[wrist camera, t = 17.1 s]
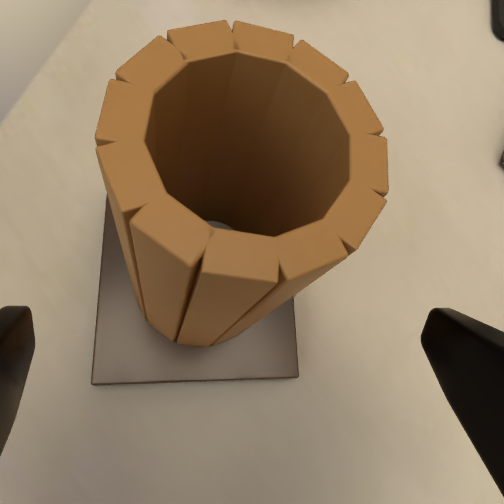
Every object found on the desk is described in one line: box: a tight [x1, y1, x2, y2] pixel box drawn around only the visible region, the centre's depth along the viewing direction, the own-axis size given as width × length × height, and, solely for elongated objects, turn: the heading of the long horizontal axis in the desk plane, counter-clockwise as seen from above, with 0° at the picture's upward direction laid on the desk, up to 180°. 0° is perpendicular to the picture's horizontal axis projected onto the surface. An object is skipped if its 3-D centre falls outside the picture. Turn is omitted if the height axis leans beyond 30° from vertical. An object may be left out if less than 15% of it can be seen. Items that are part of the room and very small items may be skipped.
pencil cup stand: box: [91, 194, 299, 385], centre depth 19 cm, size 10×10×6 cm
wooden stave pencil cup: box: [95, 20, 389, 347], centre depth 15 cm, size 7×7×13 cm
